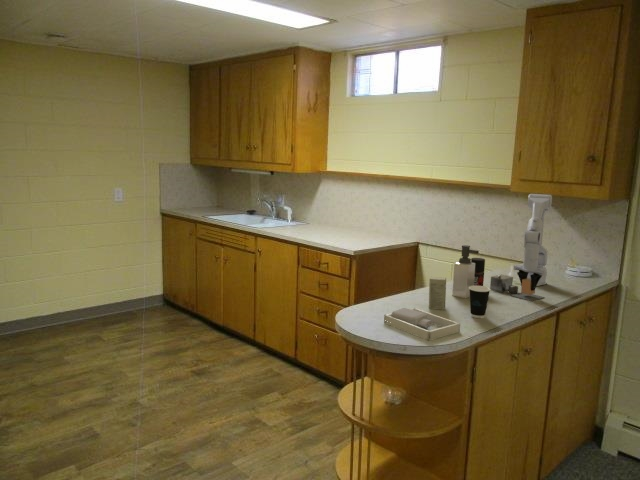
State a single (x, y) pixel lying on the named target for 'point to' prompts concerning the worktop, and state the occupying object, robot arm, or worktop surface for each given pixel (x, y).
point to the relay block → (527, 287)
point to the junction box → (501, 283)
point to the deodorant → (478, 271)
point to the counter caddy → (447, 329)
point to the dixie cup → (478, 300)
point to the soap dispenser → (464, 274)
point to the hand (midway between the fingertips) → (528, 289)
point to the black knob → (513, 289)
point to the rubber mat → (527, 297)
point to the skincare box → (437, 293)
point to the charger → (412, 317)
